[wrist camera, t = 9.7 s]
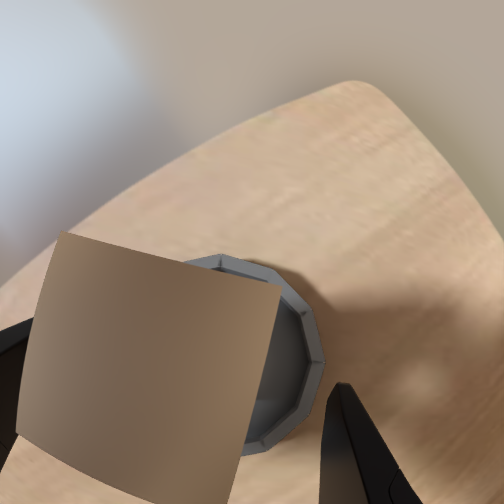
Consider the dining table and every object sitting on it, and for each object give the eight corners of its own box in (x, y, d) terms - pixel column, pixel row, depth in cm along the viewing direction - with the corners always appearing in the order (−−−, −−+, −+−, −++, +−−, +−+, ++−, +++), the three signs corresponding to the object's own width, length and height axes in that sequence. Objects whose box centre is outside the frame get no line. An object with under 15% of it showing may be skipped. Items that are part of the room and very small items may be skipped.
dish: (338, 294, 18) (345, 289, 17) (283, 470, 15) (285, 480, 14) (161, 241, 19) (154, 232, 18) (106, 408, 16) (95, 412, 15)
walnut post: (260, 332, 17) (283, 286, 5) (243, 400, 16) (221, 521, 4) (190, 314, 17) (61, 230, 5) (173, 381, 16) (15, 432, 4)
